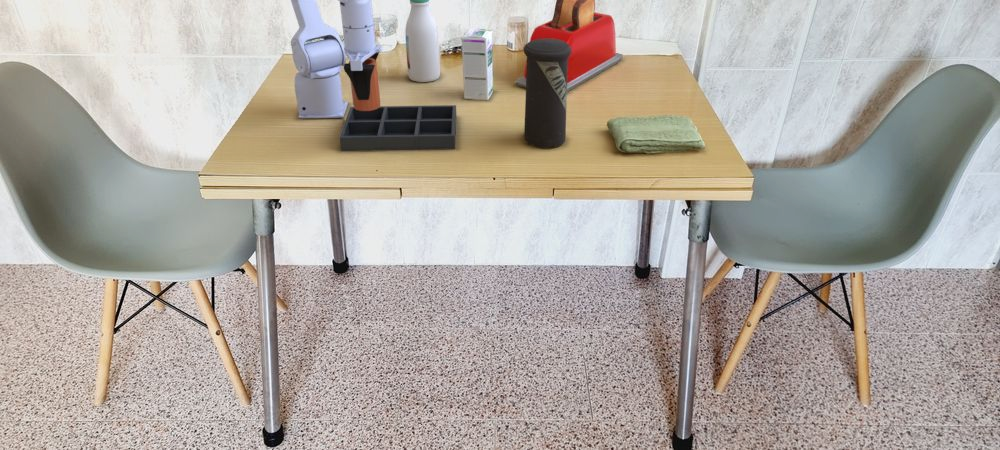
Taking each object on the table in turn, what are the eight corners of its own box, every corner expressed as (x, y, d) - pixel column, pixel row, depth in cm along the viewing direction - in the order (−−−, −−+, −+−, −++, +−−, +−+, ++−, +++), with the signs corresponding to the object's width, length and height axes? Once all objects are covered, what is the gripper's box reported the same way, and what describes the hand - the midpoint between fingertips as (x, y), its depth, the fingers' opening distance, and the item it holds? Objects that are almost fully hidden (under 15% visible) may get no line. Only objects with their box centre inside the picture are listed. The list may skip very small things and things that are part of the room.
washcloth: (707, 153, 141) (710, 137, 139) (617, 156, 140) (619, 141, 138) (687, 125, 152) (689, 110, 150) (604, 128, 151) (605, 113, 149)
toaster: (558, 98, 164) (562, 15, 154) (512, 86, 171) (513, 5, 161) (625, 59, 186) (632, -16, 176) (582, 49, 193) (586, -24, 183)
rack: (341, 151, 142) (339, 137, 140) (351, 119, 155) (350, 106, 153) (455, 149, 142) (454, 135, 141) (456, 117, 155) (456, 105, 154)
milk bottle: (446, 75, 177) (443, -9, 166) (427, 85, 171) (422, -1, 160) (421, 69, 180) (416, -13, 169) (401, 78, 175) (395, -6, 164)
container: (553, 153, 141) (558, 53, 130) (514, 142, 145) (515, 44, 134) (574, 136, 147) (580, 40, 136) (535, 127, 151) (538, 32, 140)
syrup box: (488, 101, 163) (487, 37, 155) (463, 98, 164) (461, 35, 156) (493, 91, 168) (493, 29, 160) (468, 89, 169) (467, 27, 161)
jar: (352, 111, 141) (346, 66, 136) (355, 101, 145) (350, 57, 140) (379, 111, 141) (374, 66, 136) (381, 100, 145) (377, 57, 140)
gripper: (375, 36, 128) (382, 107, 135) (383, 12, 141) (389, 79, 148) (335, 36, 128) (344, 108, 135) (346, 13, 140) (354, 80, 148)
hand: (365, 93), depth 142 cm, fingers closed on jar, 5 cm apart
